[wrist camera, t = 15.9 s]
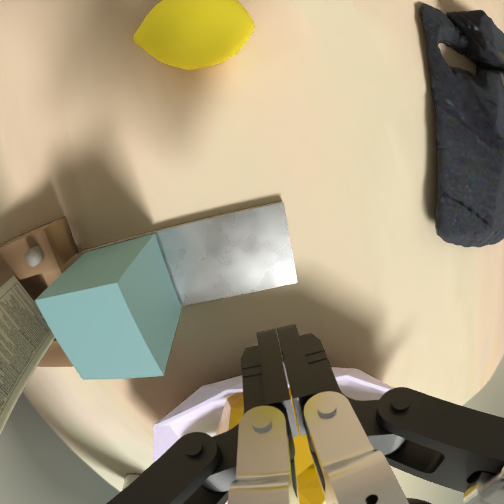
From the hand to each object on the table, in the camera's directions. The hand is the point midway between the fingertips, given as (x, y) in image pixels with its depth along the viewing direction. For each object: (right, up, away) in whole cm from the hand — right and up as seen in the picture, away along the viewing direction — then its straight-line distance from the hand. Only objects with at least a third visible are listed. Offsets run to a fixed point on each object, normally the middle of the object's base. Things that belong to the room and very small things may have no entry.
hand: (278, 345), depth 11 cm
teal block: (-10, +2, +10) cm, 14 cm away
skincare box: (-20, -1, +7) cm, 21 cm away
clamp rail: (-6, +3, +9) cm, 12 cm away
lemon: (-5, +17, +4) cm, 18 cm away
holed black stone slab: (+19, +15, +7) cm, 25 cm away
